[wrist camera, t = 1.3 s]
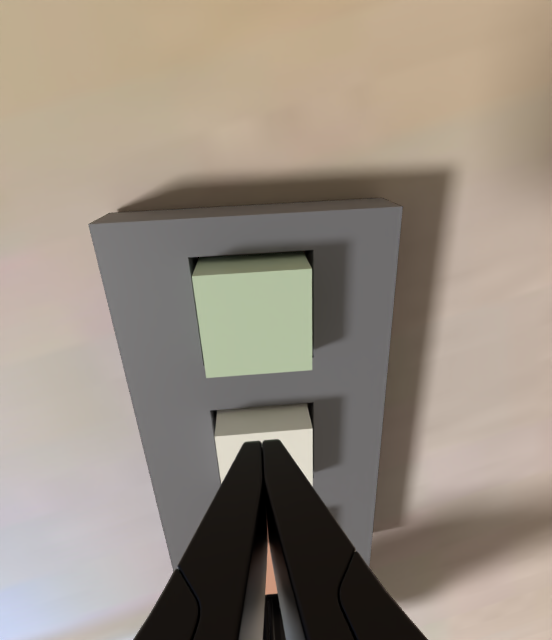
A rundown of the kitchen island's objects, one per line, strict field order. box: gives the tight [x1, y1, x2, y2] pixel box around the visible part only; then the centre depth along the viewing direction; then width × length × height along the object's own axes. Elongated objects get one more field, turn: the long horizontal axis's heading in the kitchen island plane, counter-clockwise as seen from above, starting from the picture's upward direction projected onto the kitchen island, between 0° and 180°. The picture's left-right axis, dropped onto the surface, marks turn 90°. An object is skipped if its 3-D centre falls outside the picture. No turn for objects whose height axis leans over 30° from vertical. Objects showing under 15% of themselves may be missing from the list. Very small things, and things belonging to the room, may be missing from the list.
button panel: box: [88, 198, 403, 572], centre depth 21 cm, size 23×12×2 cm, turn 2°
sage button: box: [192, 251, 312, 378], centre depth 16 cm, size 4×4×2 cm
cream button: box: [215, 403, 313, 486], centre depth 19 cm, size 4×4×2 cm
